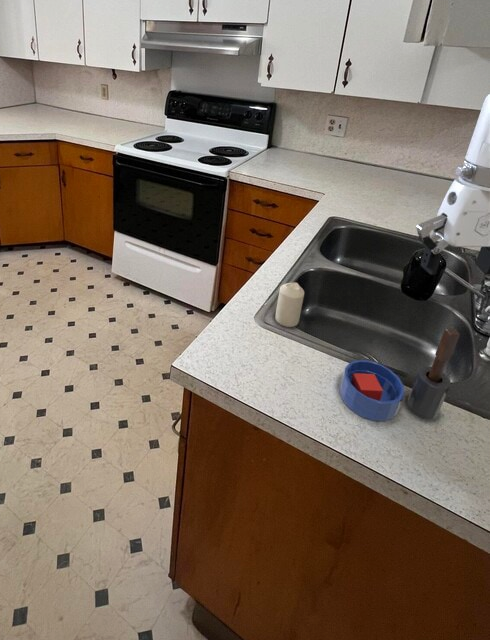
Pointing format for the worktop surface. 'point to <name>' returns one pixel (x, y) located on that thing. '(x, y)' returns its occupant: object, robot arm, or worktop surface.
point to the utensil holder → (427, 394)
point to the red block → (367, 385)
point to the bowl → (369, 406)
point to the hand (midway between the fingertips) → (455, 269)
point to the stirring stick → (443, 353)
